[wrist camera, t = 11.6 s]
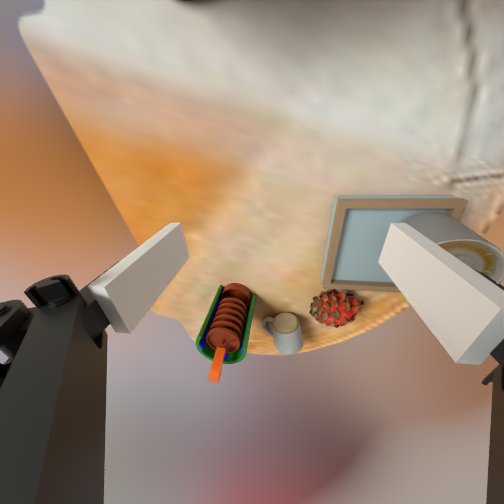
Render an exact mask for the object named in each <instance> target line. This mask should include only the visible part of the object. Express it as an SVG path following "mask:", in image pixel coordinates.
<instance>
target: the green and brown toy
mask: <svg viewBox="0 0 504 504" xmlns="http://www.w3.org/2000/svg"><path fill="white" fill-rule="evenodd" d="M222 287H223V286H222V285H220V287H219V289H218V291H217V293H216V296H215V298H214V300H213V303H212V305H211V307H210V309H209V312H208V314H207V316H206V319H205V321H204V323H203V325H202V328H201V330H200V332H199V335H198V337H197V339H196V346H197V348H198V350H199V351H200V353H201V354H202V355H204V356H205V357H206V358H208V359H210V360H212V361H213V362H212V366H211V370H210V374H209V381H212V382H217V383H219V379H220V375H221V369H222V364H233V363H237V362H239V361H241V360H243V359H244V357H245V356H246V352H247V346H248V340H249V334H250V328H251V323H252V317H253V311H254V305H255V299H256V294H253V296H252V299H251V293H250V291H249V289H248V288H247V287H245V286H244V285H242V284H238V283H231V284H228V285H227V286H225V288H224V289H223V292H222V294H221V289H222ZM236 294H238V295H236ZM250 300H251V303H250Z"/></svg>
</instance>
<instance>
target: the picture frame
mask: <svg viewBox="0 0 504 504" xmlns="http://www.w3.org/2000/svg"><path fill="white" fill-rule="evenodd" d="M467 202H468V201H467V200H464V199H461V198H458V197H455V196H452V195H369V196H335V197H334V203H333V208H332V214H331V220H330V226H329V231H328V237H327V243H326V249H325V255H324V260H323V266H322V272H321V281H322V285H323V288H330V289H348V290H365V291H383V292H401V291H400V290H399V289H398V287H397V286H396V285H395V283H394V282H393V281H392V280H391V278H390V277H389V276H388V274H387V273H386V272H385V271H384V269H383V268H382V267H381V265H380V264H379V263H378V261H379V258H380V255H381V252H382V249H383V246H384V243H385V240H386V237H387V234H388V231H389V228H390V225H391V223H399V222H400V221H402V220H403V219H405V218H407V217H409V216H412V215H415V214H418V213H424V212H438V213H443V214H446V215H448V216H450V217H452V218H453V219H455V220H456V221H458V219H459V217H460V216H461V214H462V212H463V210H464V208H465V206H466V204H467Z"/></svg>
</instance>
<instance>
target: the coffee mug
mask: <svg viewBox="0 0 504 504" xmlns="http://www.w3.org/2000/svg"><path fill="white" fill-rule="evenodd" d="M399 223H406V224H408V225H409V226H411V227H412V228H414V229H415V230H417V231H418V232H420V233H421V234H422V235H424V236H425V237H427V238H428V239H430V240H431V241H433V242H434V243H436V244H437V245H438V246H440V247H441V248H443V249H444V250H446V251H447V252H449V253H450V254H451V255H453V256H454V257H456V258H457V259H459V260H460V261H462V262H463V263H465V264H466V265H467V266H469V267H471V268H473V269H475V270H477V271H479V272H482V273H484V274H485V275H487V276H488V277H490V278H491V279H493V280H494V281H496V283H497V284H500V283H501V282H502V280H503V279H504V254H503V252H502V251H501V250H500V249H498V248H497V247H496V246H495V245H493V244H491V243H490V242H488V241H487V240H485V239H484V238H482V237H481V236H479V235H478V234H476V233H475V232H473V231H472V230H470V229H469V228H467V227H466V226H464V225H463V224H461V223H459V222H458V221H456V220H455V219H453V218H452V217H450V216H448V215H446V214H443V213H438V212H424V213H418V214H415V215H412V216H409V217H407V218H405V219H403V220H402V221H400V222H399Z"/></svg>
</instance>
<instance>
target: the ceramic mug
mask: <svg viewBox="0 0 504 504" xmlns="http://www.w3.org/2000/svg"><path fill="white" fill-rule="evenodd" d="M266 321H269V322H272V330H271V329H270V328H269V327H268V326H267V325H266ZM262 327H263V329H264V330H265V331H266V332H267V333H268V334H270V335H271V336H273V337H274V343H275V346H276V348H277V349H278V350H279V351H280V352H281V353H283V354H287V355H292V354H296V353H297V352H299V351H300V350H301V348H302V346H303V338H302V332H301V326H300V322H299V320H298V318H297V317H296V316H295V315H294V314H291V313H281V314H278V315H277V316H276V317H275V318H272V317H266V318H265V319H264V320H263V322H262Z"/></svg>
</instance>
